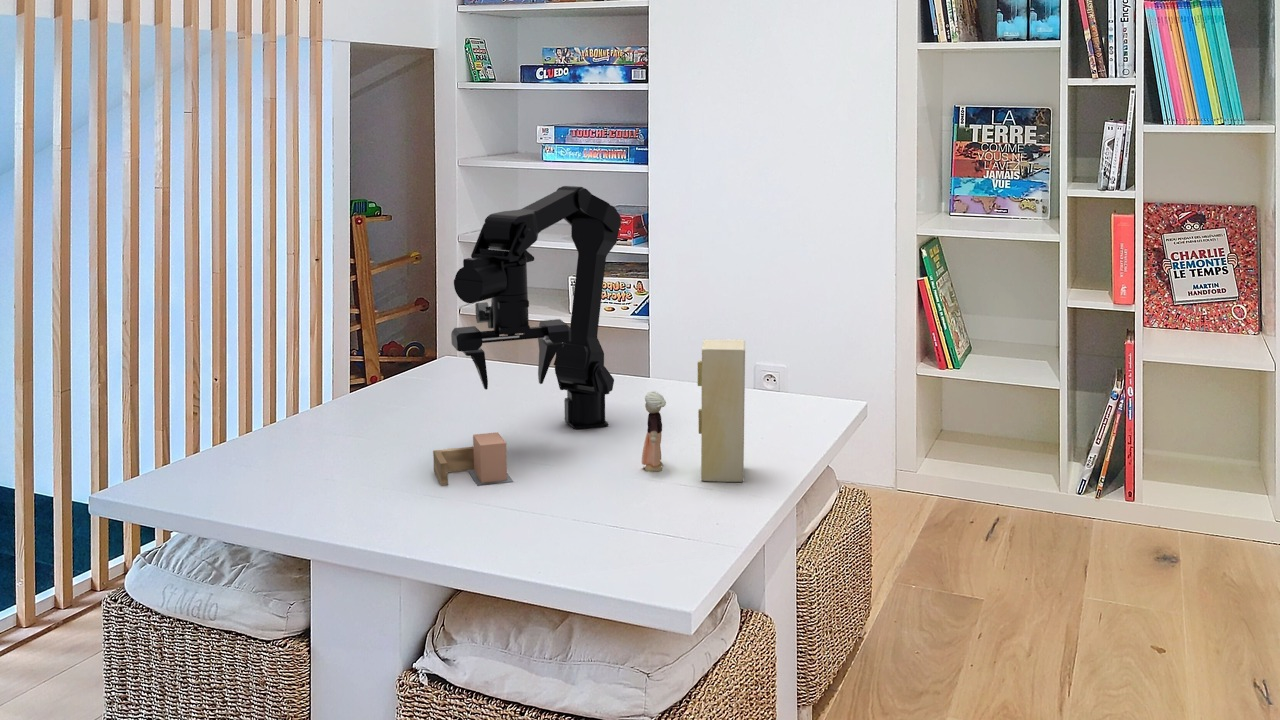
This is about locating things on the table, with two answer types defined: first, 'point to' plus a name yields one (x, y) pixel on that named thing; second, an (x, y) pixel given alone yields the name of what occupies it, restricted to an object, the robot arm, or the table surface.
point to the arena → (457, 464)
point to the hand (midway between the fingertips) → (513, 386)
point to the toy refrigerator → (722, 409)
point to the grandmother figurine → (653, 432)
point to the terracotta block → (490, 457)
